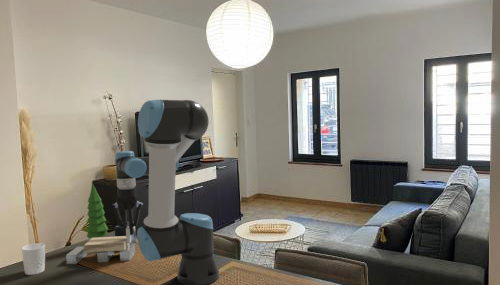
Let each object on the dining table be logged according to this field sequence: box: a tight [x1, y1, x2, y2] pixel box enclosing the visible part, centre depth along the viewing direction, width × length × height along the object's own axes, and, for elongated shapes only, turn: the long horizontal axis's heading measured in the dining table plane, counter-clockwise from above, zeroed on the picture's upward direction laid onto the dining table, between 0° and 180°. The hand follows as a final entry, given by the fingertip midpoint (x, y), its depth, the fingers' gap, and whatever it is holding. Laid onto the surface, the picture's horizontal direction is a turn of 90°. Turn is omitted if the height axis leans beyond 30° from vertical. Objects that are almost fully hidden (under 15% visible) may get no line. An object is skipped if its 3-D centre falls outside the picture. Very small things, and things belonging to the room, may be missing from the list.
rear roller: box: [119, 242, 136, 262], centre depth 161 cm, size 10×4×4 cm, turn 5°
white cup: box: [21, 242, 46, 276], centre depth 147 cm, size 8×8×10 cm
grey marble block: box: [65, 245, 88, 265], centre depth 159 cm, size 10×4×4 cm, turn 0°
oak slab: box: [83, 235, 129, 253], centre depth 160 cm, size 10×16×3 cm, turn 95°
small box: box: [114, 220, 137, 244], centre depth 174 cm, size 11×6×10 cm, turn 179°
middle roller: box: [96, 251, 115, 263], centre depth 160 cm, size 10×4×4 cm, turn 5°
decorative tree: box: [86, 182, 109, 239], centre depth 175 cm, size 10×9×30 cm
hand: (129, 242), depth 161 cm, fingers closed
